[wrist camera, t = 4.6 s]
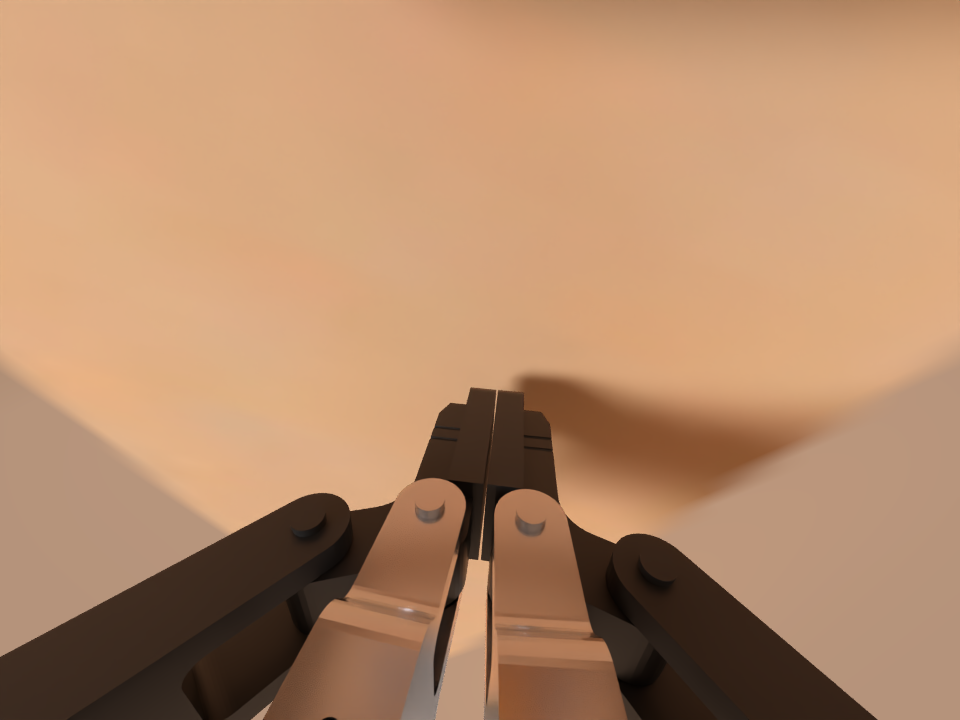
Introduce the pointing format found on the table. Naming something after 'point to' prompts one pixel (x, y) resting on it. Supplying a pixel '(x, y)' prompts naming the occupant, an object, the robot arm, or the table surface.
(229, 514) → the table surface
